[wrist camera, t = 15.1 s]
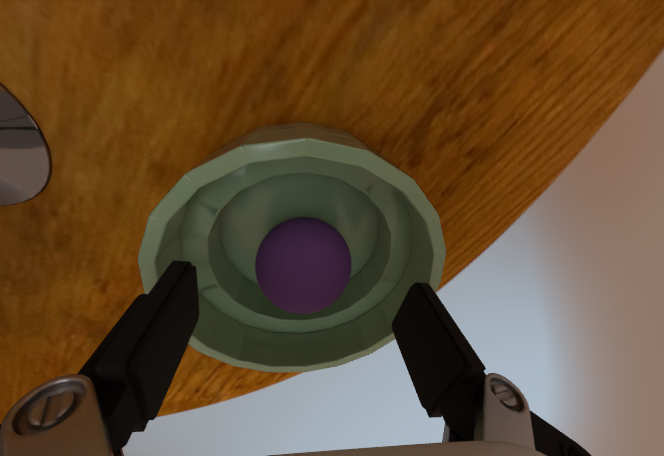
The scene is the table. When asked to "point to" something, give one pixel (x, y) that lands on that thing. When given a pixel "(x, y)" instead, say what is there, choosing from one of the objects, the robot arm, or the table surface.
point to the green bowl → (276, 207)
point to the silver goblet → (20, 153)
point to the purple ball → (303, 265)
